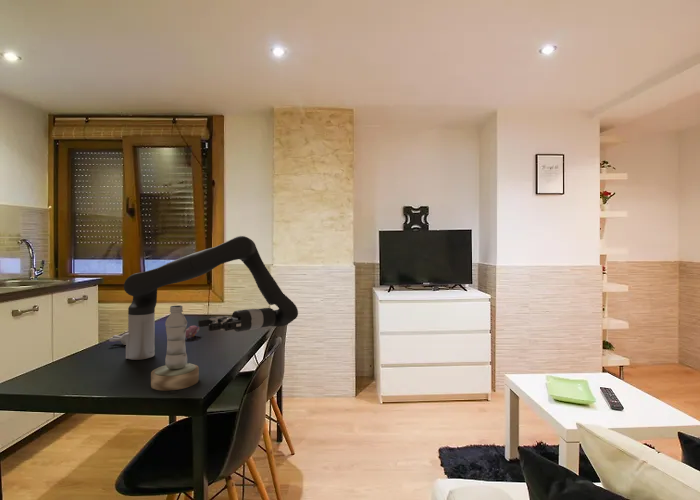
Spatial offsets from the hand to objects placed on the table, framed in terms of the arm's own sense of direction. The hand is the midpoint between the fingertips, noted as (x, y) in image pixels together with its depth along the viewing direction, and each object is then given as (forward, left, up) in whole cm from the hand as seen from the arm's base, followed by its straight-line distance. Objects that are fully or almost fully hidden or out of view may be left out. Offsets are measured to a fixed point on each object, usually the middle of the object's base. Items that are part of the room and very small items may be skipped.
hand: (203, 325), depth 131 cm
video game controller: (-25, +57, -17) cm, 65 cm away
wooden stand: (-7, -6, -17) cm, 19 cm away
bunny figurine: (-47, +45, -17) cm, 67 cm away
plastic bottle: (-7, -6, -13) cm, 16 cm away
